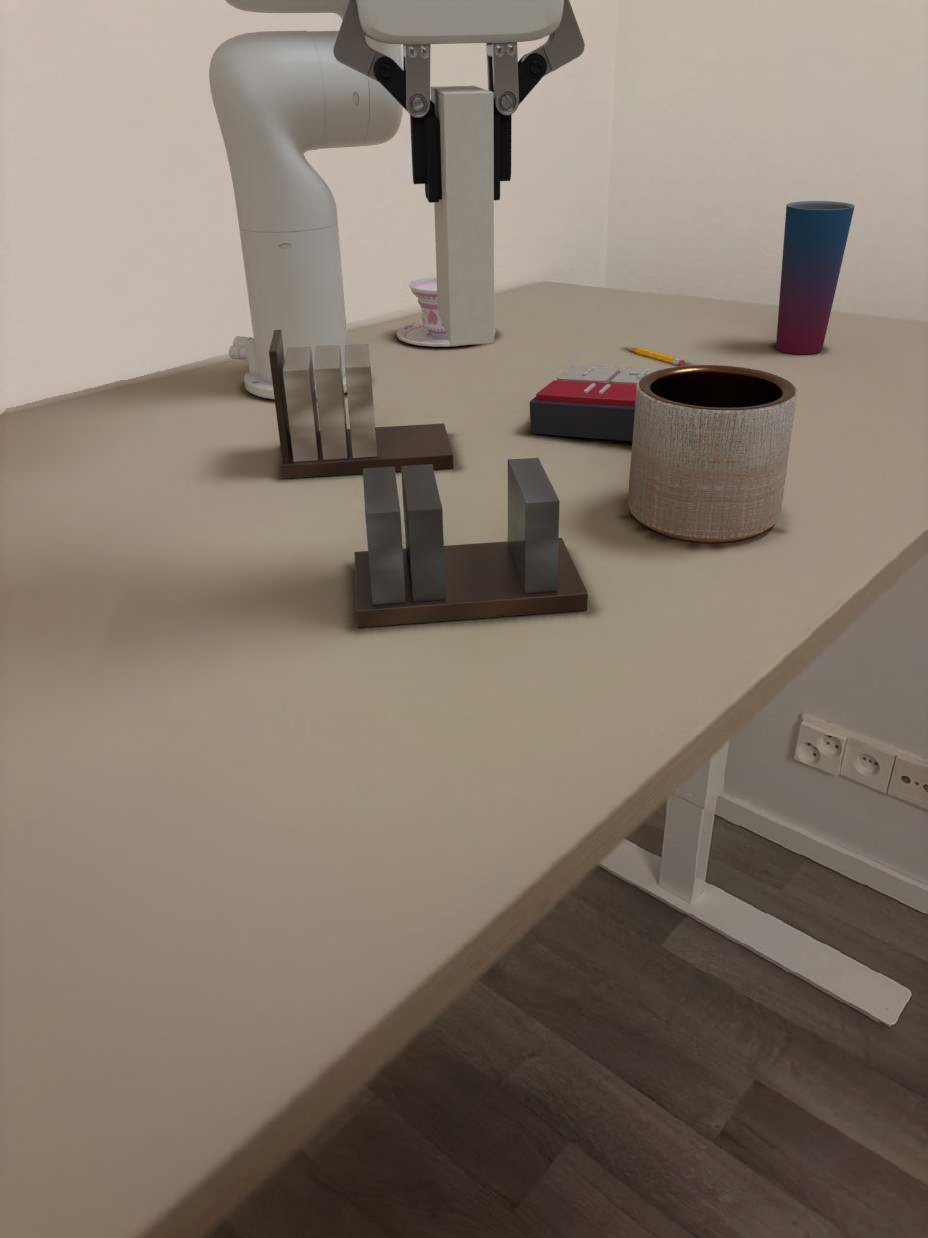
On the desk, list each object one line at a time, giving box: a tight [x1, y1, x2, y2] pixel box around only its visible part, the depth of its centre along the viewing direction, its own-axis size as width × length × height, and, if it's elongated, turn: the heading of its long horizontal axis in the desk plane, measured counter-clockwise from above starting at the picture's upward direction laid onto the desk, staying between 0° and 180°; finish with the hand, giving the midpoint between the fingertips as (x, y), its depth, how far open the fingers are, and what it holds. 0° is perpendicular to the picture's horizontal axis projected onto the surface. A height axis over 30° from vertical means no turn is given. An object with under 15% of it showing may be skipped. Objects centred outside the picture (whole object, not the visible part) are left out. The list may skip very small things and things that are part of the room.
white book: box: [430, 84, 495, 347], centre depth 53 cm, size 2×8×12 cm, turn 6°
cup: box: [775, 200, 855, 355], centre depth 105 cm, size 7×7×15 cm
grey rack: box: [353, 457, 589, 628], centre depth 60 cm, size 14×8×7 cm, turn 96°
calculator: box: [529, 364, 663, 442], centre depth 87 cm, size 11×4×15 cm
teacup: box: [396, 276, 496, 348], centre depth 116 cm, size 12×12×6 cm
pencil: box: [627, 347, 686, 367], centre depth 107 cm, size 1×8×1 cm, turn 35°
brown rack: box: [269, 330, 454, 480], centre depth 80 cm, size 14×8×10 cm, turn 96°
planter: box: [627, 364, 798, 543], centre depth 68 cm, size 11×11×10 cm
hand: (461, 194), depth 52 cm, fingers closed on white book, 2 cm apart
